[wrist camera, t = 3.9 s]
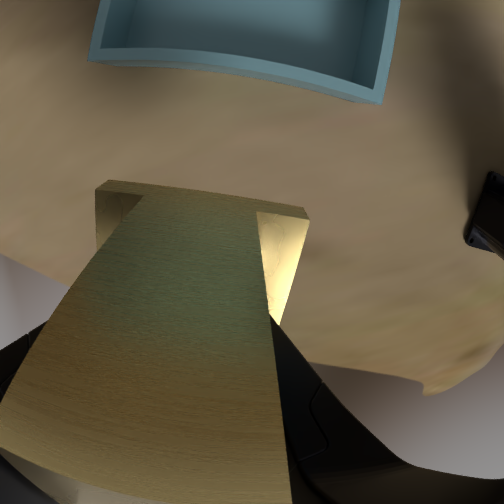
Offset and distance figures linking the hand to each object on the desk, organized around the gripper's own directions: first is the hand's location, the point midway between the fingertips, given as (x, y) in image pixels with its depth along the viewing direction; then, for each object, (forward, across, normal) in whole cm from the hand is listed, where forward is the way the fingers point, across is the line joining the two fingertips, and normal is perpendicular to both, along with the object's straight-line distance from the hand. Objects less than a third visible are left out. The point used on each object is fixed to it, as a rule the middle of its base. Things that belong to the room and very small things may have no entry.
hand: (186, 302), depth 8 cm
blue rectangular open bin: (+11, 0, -11) cm, 16 cm away
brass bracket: (+2, 0, 0) cm, 2 cm away
